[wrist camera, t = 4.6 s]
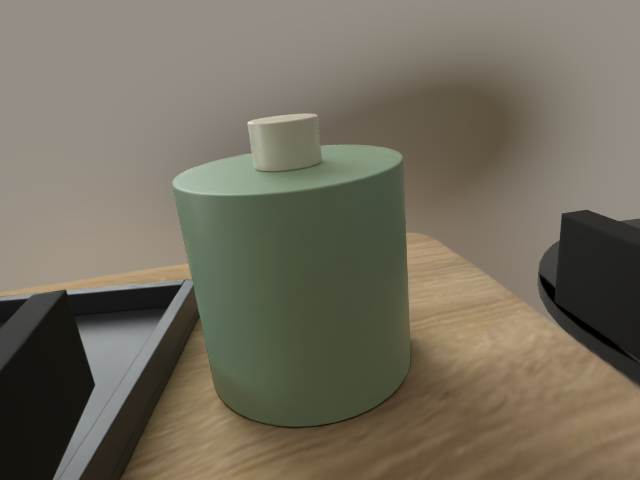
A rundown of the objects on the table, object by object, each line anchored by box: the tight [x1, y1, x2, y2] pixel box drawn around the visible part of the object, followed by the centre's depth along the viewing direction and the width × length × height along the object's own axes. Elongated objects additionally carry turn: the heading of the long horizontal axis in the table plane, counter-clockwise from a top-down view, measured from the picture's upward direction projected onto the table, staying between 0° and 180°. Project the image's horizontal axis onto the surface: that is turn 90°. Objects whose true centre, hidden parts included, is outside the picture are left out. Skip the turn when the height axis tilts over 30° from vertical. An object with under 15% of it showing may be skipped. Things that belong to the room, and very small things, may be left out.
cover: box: [172, 114, 411, 427], centre depth 22 cm, size 10×10×12 cm
